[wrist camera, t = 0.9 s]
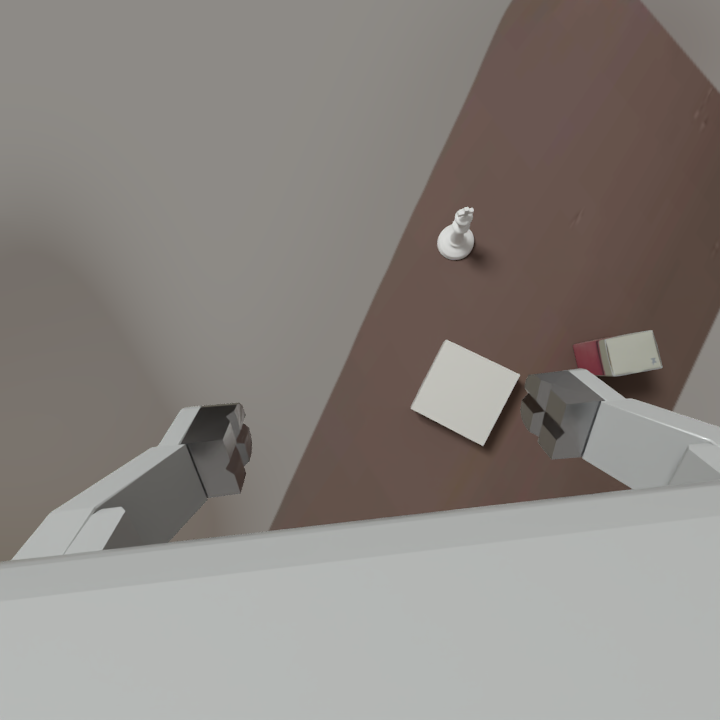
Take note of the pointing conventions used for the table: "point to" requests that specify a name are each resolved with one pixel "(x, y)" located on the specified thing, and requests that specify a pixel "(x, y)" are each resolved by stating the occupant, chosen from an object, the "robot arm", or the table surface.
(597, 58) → the table surface
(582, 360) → the small box
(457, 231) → the chess piece
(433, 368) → the off-white block
